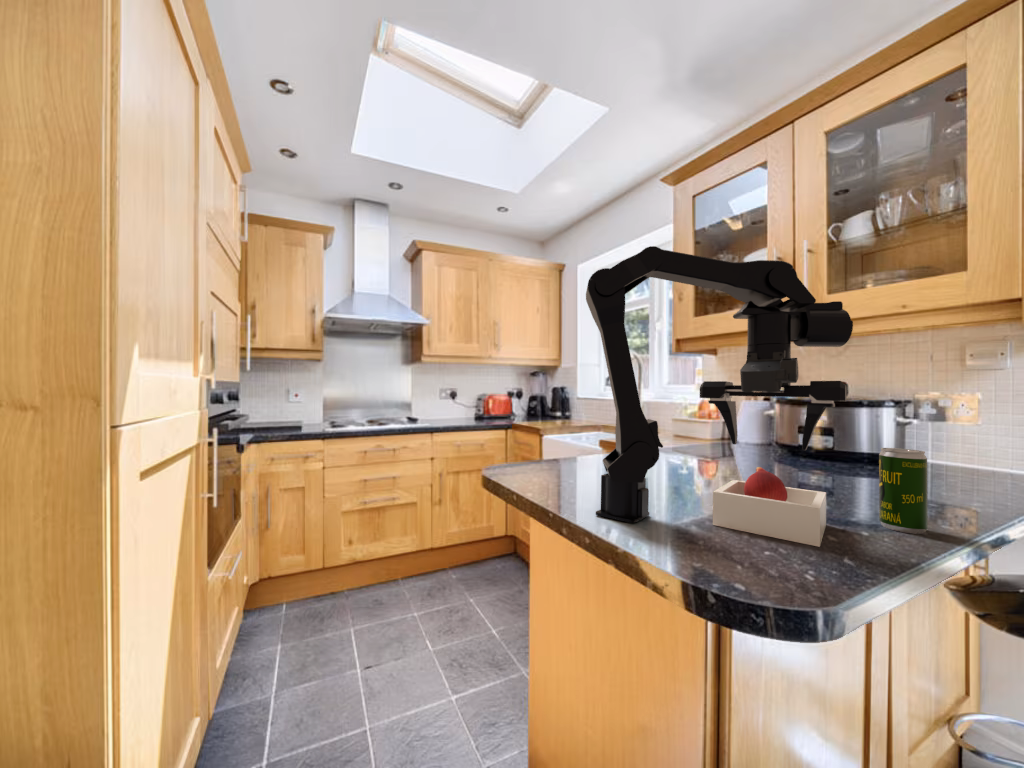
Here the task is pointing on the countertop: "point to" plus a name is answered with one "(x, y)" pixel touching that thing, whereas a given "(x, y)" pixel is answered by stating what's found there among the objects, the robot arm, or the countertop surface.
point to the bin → (772, 513)
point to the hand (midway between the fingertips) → (767, 447)
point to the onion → (765, 486)
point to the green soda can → (903, 490)
